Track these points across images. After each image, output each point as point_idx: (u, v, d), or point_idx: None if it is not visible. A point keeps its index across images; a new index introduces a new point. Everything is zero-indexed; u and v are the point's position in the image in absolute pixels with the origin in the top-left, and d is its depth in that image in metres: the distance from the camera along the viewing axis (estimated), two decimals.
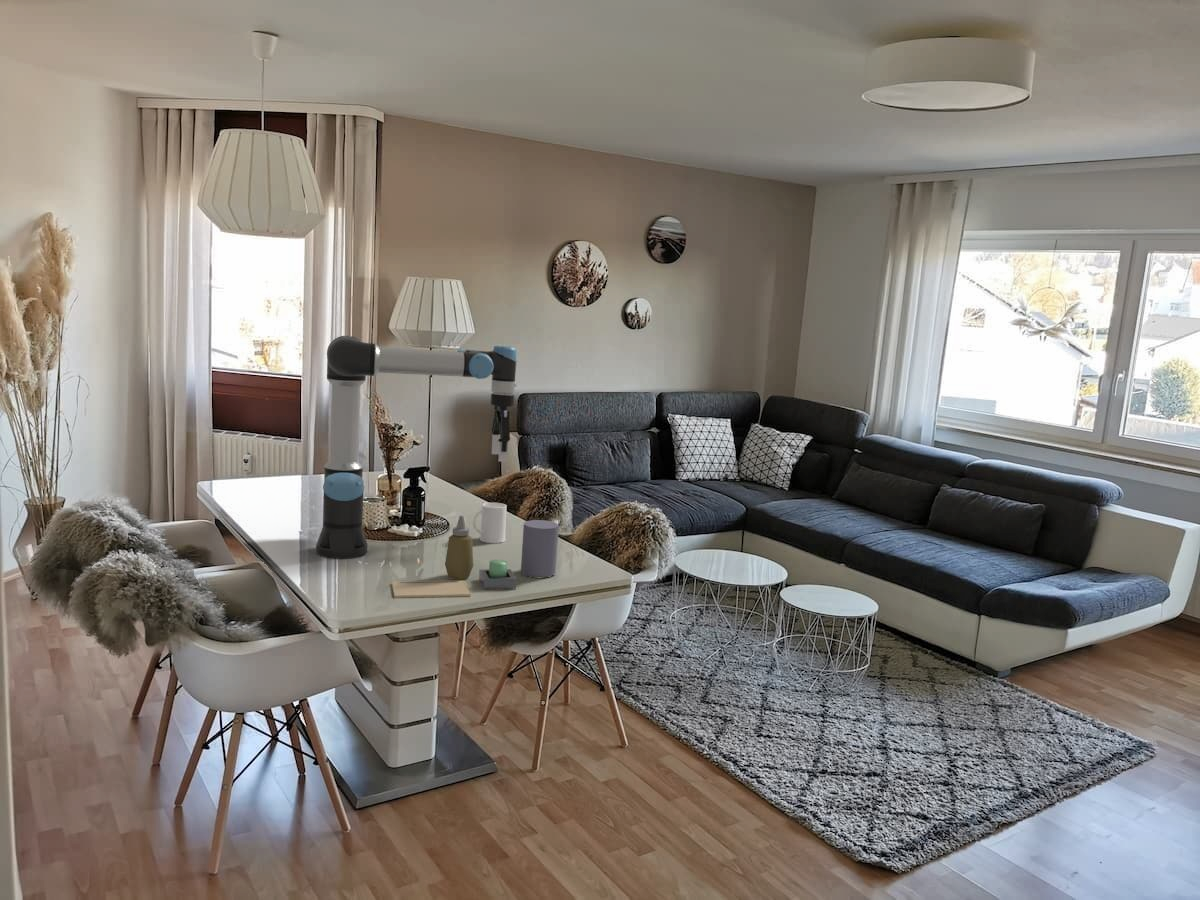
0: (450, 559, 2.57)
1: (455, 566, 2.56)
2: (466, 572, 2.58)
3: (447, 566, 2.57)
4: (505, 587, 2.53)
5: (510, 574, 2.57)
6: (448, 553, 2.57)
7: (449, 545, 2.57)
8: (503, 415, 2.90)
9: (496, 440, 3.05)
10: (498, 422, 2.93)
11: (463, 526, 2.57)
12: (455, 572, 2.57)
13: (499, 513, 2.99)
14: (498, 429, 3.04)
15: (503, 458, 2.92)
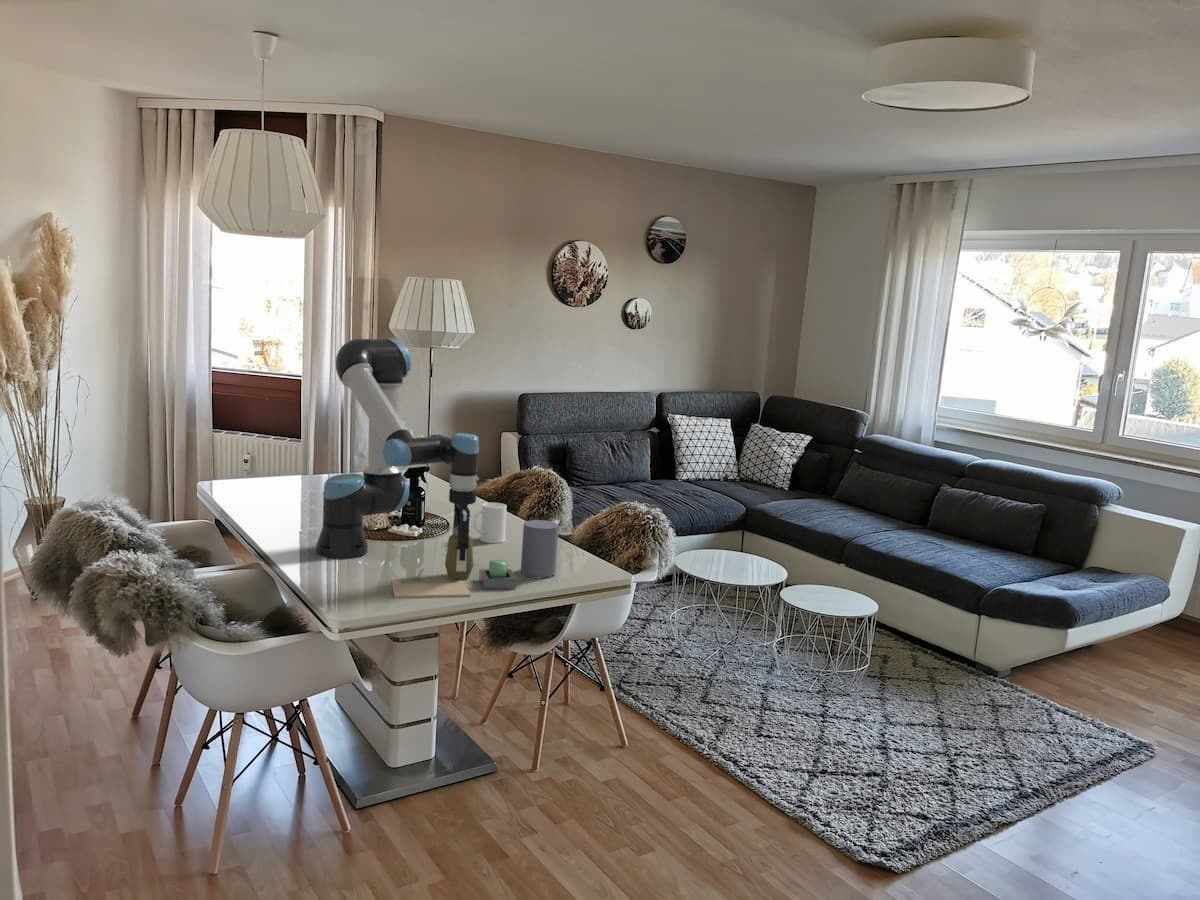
0: (450, 559, 2.57)
1: (455, 566, 2.56)
2: (466, 572, 2.58)
3: (447, 566, 2.57)
4: (505, 587, 2.53)
5: (510, 574, 2.57)
6: (448, 553, 2.57)
7: (449, 545, 2.57)
8: (462, 519, 2.51)
9: None
10: (457, 524, 2.55)
11: None
12: (454, 572, 2.57)
13: (499, 513, 2.99)
14: None
15: (461, 567, 2.56)
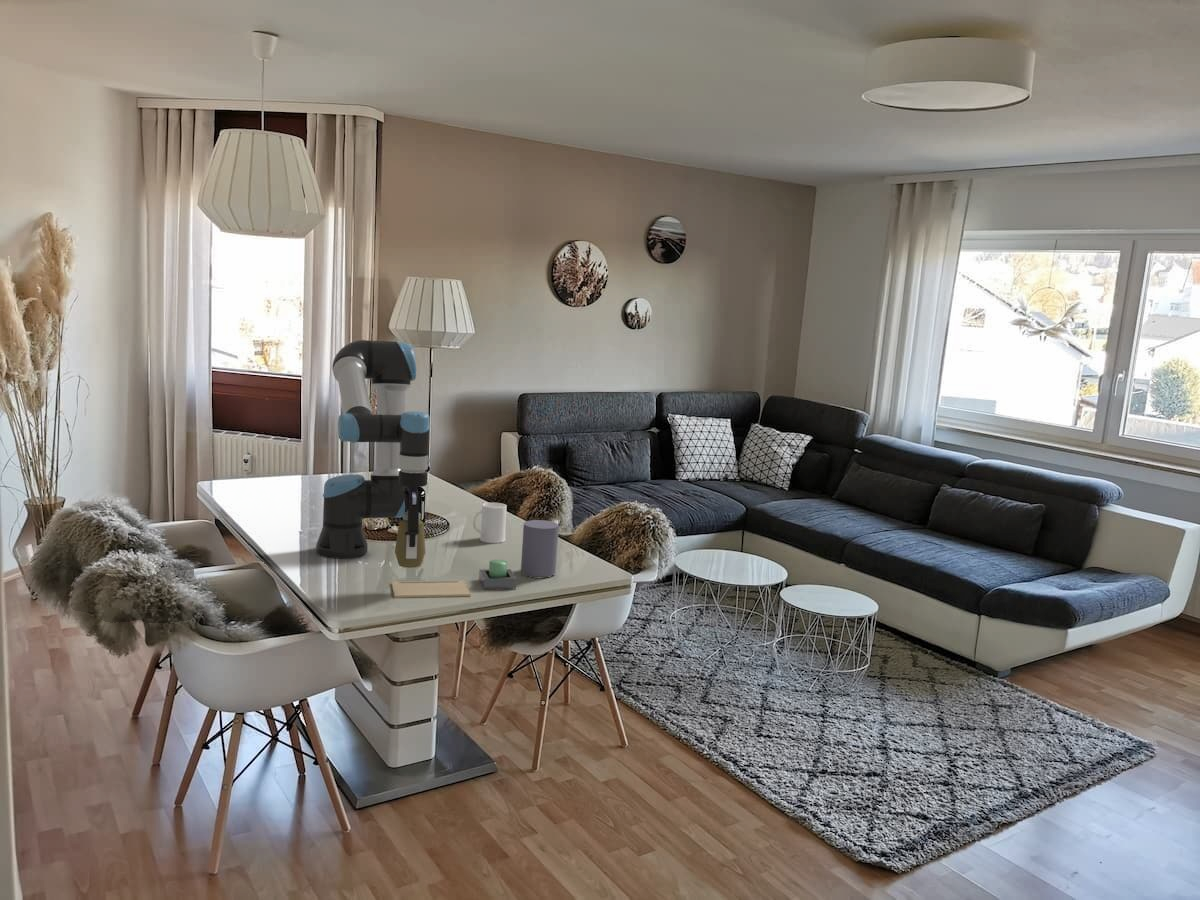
0: (400, 545, 2.41)
1: (405, 553, 2.40)
2: (417, 559, 2.42)
3: (397, 553, 2.41)
4: (505, 587, 2.53)
5: (510, 574, 2.57)
6: (398, 539, 2.41)
7: (399, 531, 2.41)
8: (411, 503, 2.35)
9: None
10: (406, 508, 2.39)
11: None
12: (405, 559, 2.41)
13: (499, 513, 2.99)
14: None
15: (411, 554, 2.40)
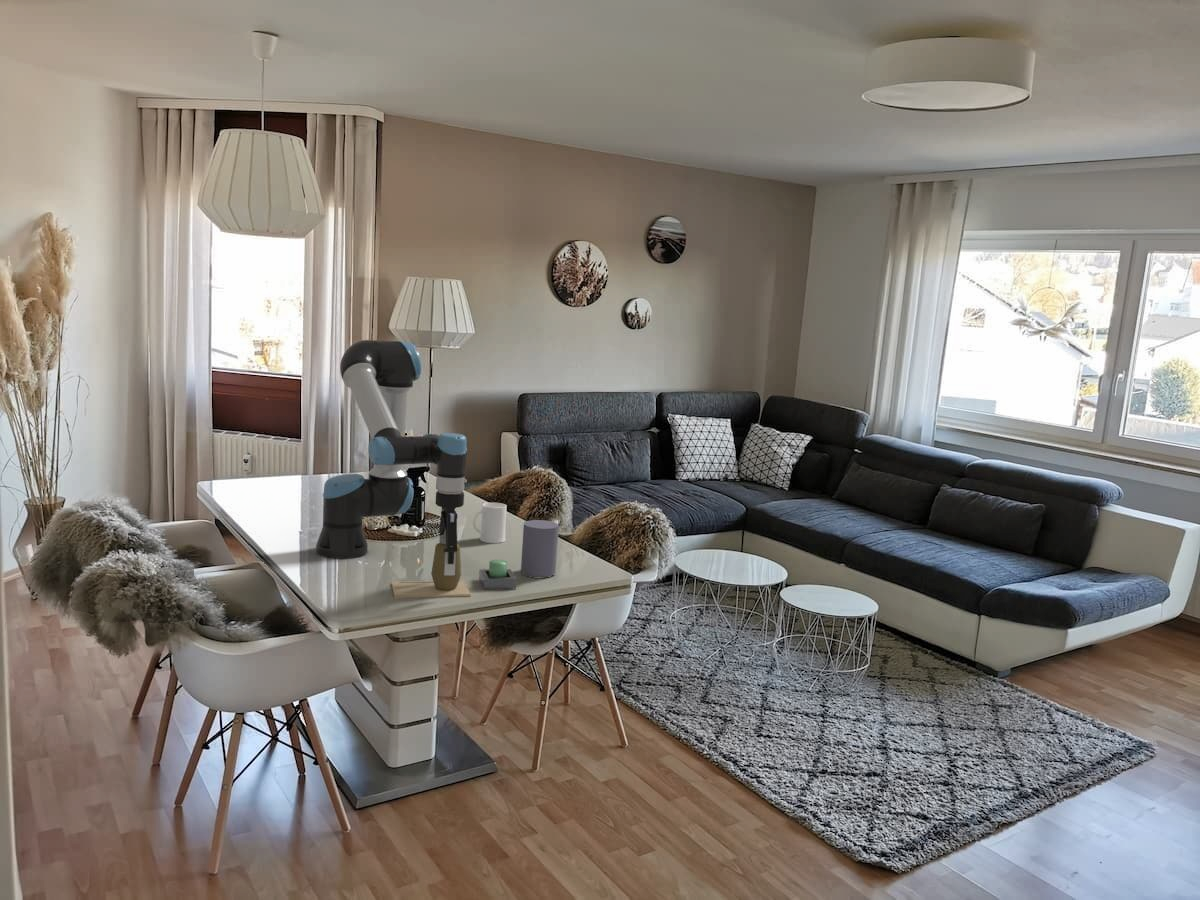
0: (437, 568, 2.45)
1: (441, 576, 2.44)
2: (453, 582, 2.46)
3: (433, 576, 2.46)
4: (505, 587, 2.53)
5: (510, 574, 2.57)
6: (435, 562, 2.45)
7: (436, 554, 2.45)
8: (449, 520, 2.39)
9: None
10: (444, 527, 2.42)
11: None
12: (441, 582, 2.45)
13: (499, 513, 2.99)
14: None
15: (450, 571, 2.41)
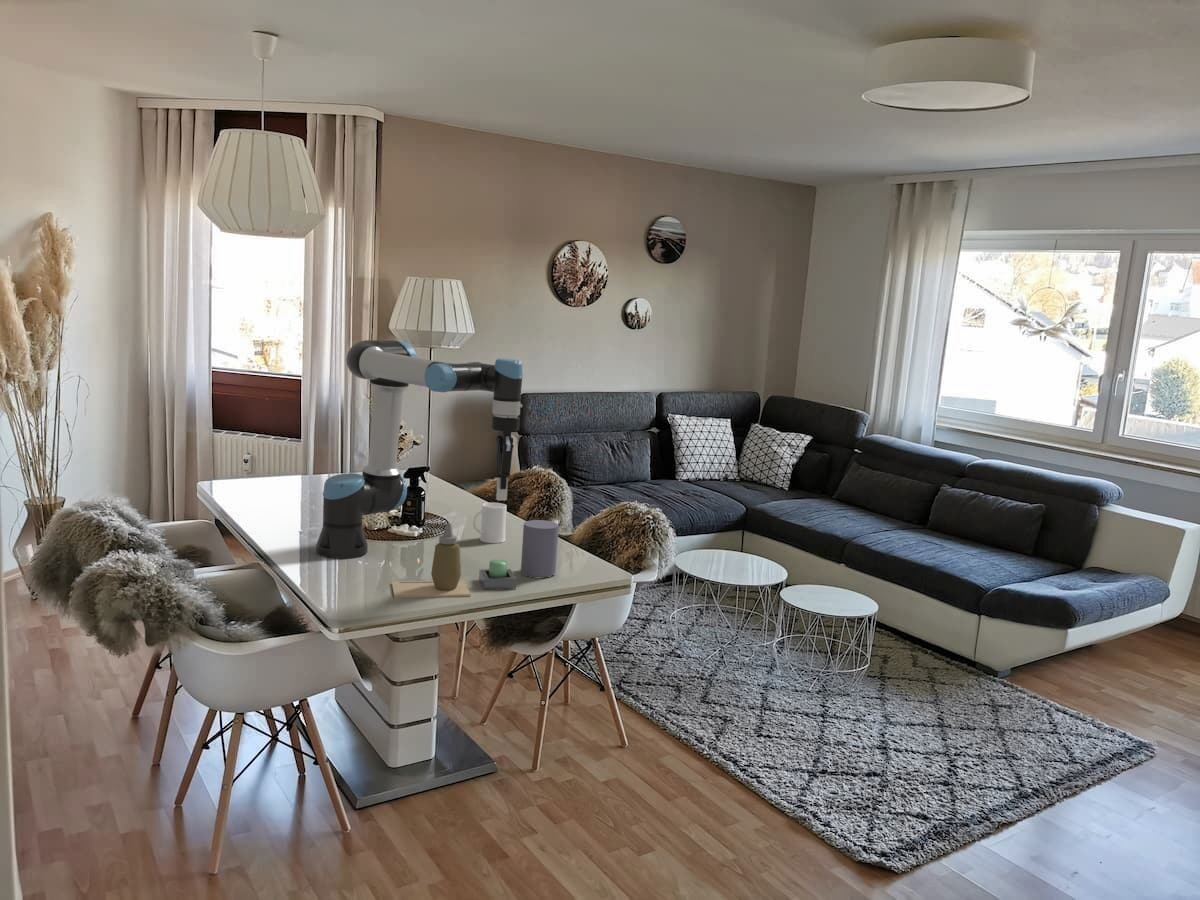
0: (437, 568, 2.45)
1: (441, 576, 2.44)
2: (453, 582, 2.46)
3: (433, 576, 2.46)
4: (505, 587, 2.53)
5: (510, 574, 2.57)
6: (434, 562, 2.45)
7: (435, 554, 2.45)
8: (505, 450, 2.45)
9: None
10: (499, 452, 2.49)
11: (450, 534, 2.46)
12: (441, 582, 2.45)
13: (499, 513, 2.99)
14: None
15: (502, 496, 2.52)
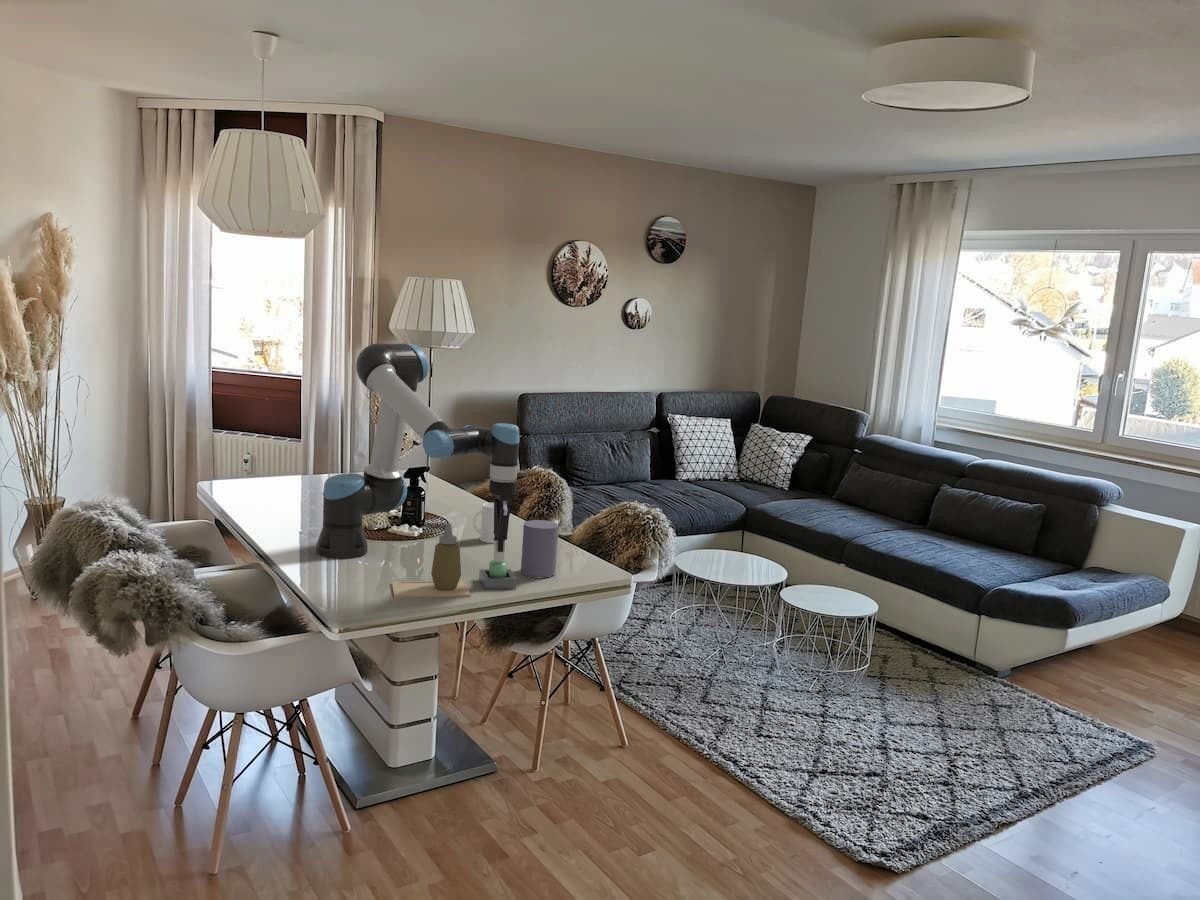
0: (437, 568, 2.45)
1: (441, 576, 2.44)
2: (453, 582, 2.46)
3: (433, 576, 2.46)
4: (505, 587, 2.53)
5: (510, 574, 2.57)
6: (434, 562, 2.45)
7: (435, 554, 2.45)
8: (502, 514, 2.48)
9: None
10: (496, 516, 2.52)
11: (450, 534, 2.46)
12: (441, 582, 2.45)
13: None
14: None
15: (499, 559, 2.55)
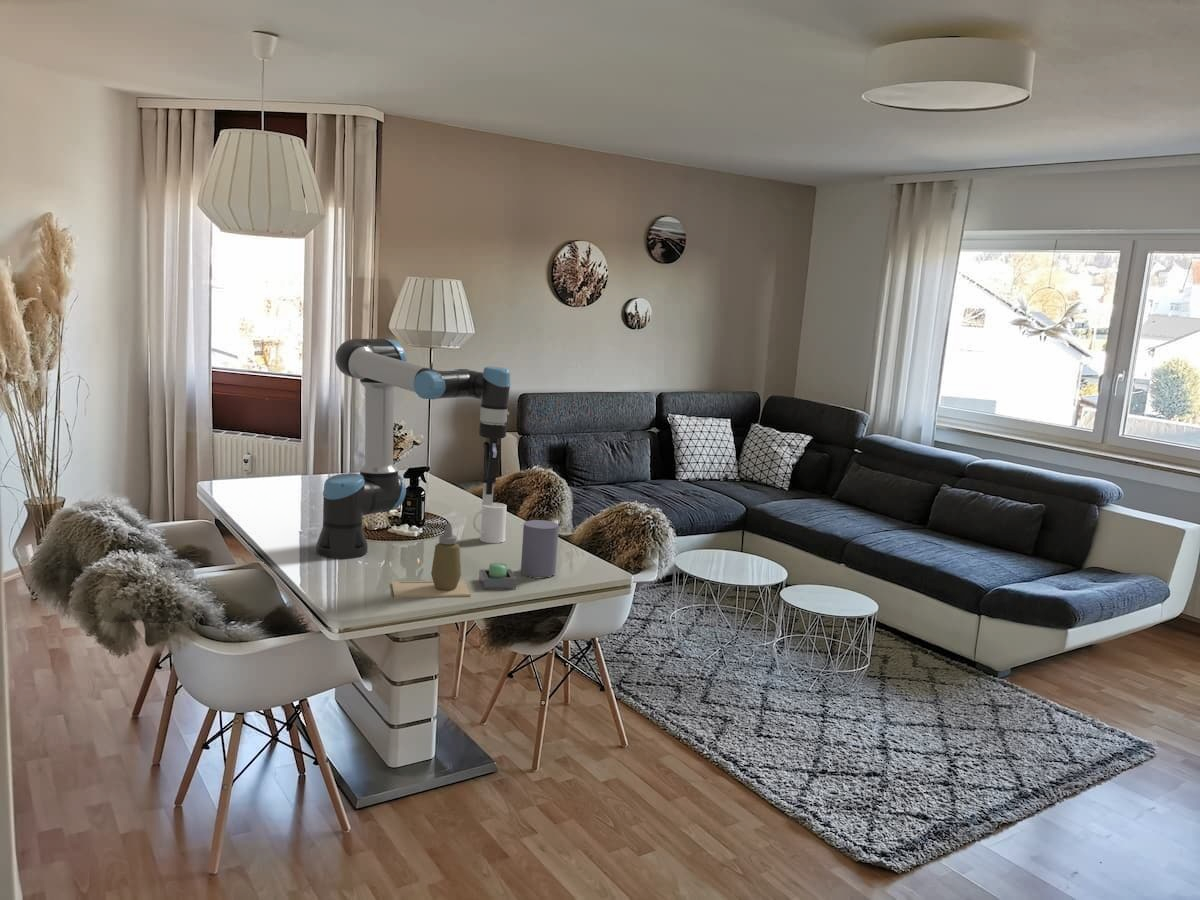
0: (437, 568, 2.45)
1: (441, 576, 2.44)
2: (453, 582, 2.46)
3: (433, 576, 2.46)
4: (505, 587, 2.53)
5: (510, 574, 2.57)
6: (434, 562, 2.45)
7: (435, 554, 2.45)
8: (491, 456, 2.50)
9: None
10: (486, 458, 2.54)
11: (450, 534, 2.46)
12: (441, 582, 2.45)
13: (499, 513, 2.99)
14: None
15: (488, 501, 2.57)
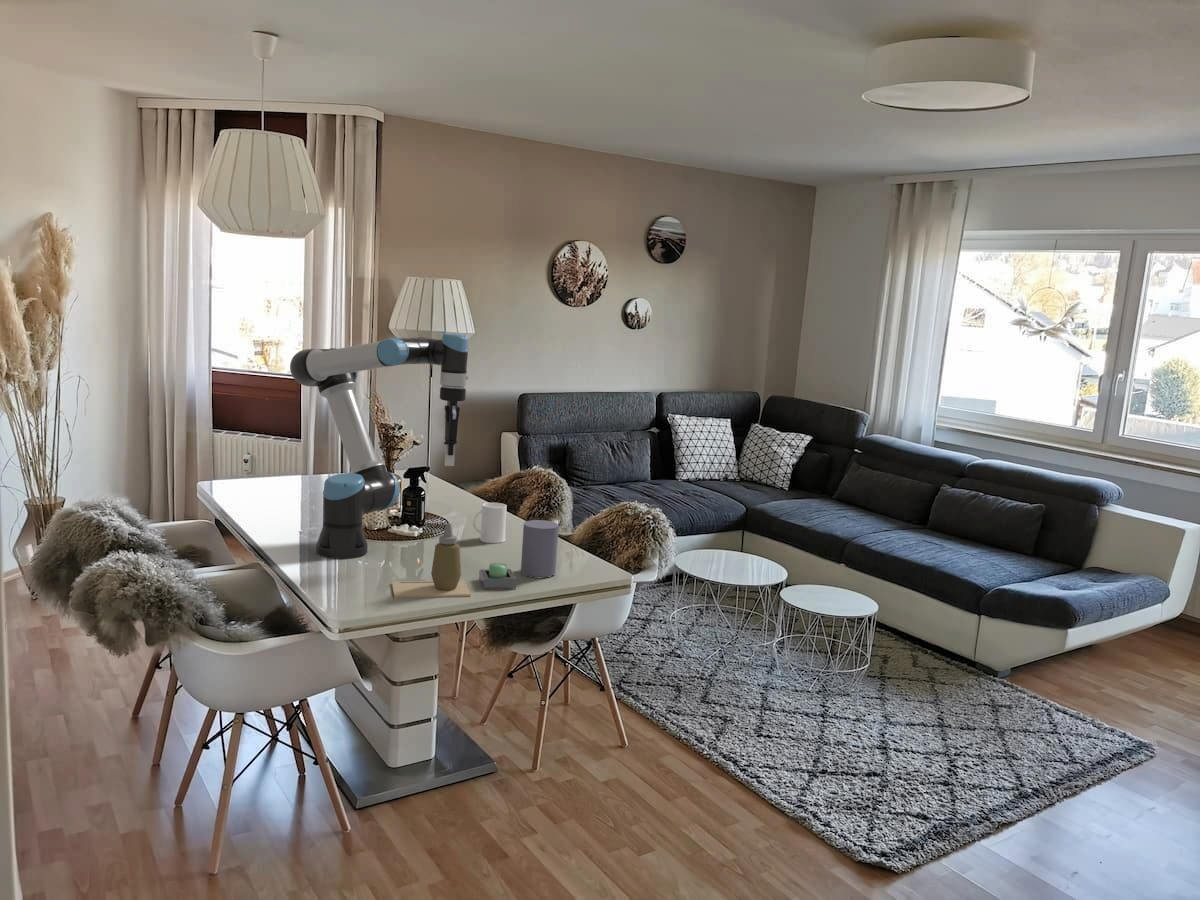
0: (437, 568, 2.45)
1: (441, 576, 2.44)
2: (453, 582, 2.46)
3: (433, 576, 2.46)
4: (505, 587, 2.53)
5: (510, 574, 2.57)
6: (434, 562, 2.45)
7: (435, 554, 2.45)
8: (451, 418, 2.64)
9: None
10: (446, 421, 2.68)
11: (450, 534, 2.46)
12: (441, 582, 2.45)
13: (499, 513, 2.99)
14: None
15: (450, 462, 2.71)
